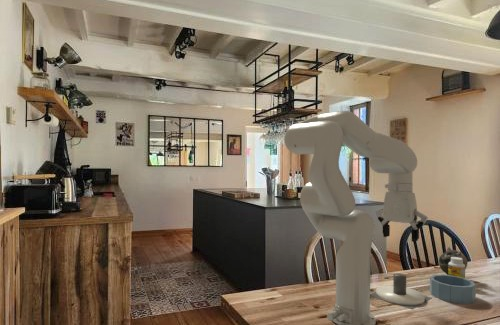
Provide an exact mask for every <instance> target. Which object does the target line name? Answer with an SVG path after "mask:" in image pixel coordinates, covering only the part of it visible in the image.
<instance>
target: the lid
mask: <svg viewBox="0 0 500 325" xmlns="http://www.w3.org/2000/svg"><path fill="white" fill-rule="evenodd" d="M392 275H393V277H392V278H393V280H392V281H393V285H382V286H381V285H380V286H378V287H376V289H375V292H376V295H377V296H378V297H379V298H381V299H383V300H382V301H384V300H385V302H387V301H388V302H387V303H390V302H391V304H393V303H395V304H394V305H396V304H400V305H420V304H421V305H423V304H425V303H426V302H425V296H426V295H424V293H422V292H421V291H419V290H416V289H413V288H411V287H407V275H406V274H403V273H393V274H392ZM381 299H380V300H381ZM424 302H425V303H424ZM400 305H399V306H400ZM421 305H420V306H421Z"/></svg>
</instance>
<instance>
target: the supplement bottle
mask: <svg viewBox="0 0 500 325" xmlns="http://www.w3.org/2000/svg"><path fill="white" fill-rule="evenodd" d="M448 275H451V276H457V277H461V278H465V279H466V269H465V265H464V264H463V259H462V258H459V257H451V262H449V263H448Z"/></svg>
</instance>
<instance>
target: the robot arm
mask: <svg viewBox="0 0 500 325" xmlns="http://www.w3.org/2000/svg"><path fill="white" fill-rule="evenodd" d="M284 145H285V147H286V149H287V150H288V151H289V152H290V153H293V154H295V155H313V156H312V159H311V162H310V165H309V167H308V171H307V177H308V180H309V182H307V183H305V185H304V186H303V187H302V188H301V191H300V194H299V200H300V205H301V208H302V210H303V212H304V213H305V215H306V217H307V218H308V219H309V221H310V223H311V224H312V226H313V227H314V228H315V231H317V233H318V234H320V236H322V237H324V238H327V239H332V240H336V241H341V242H343V243H342V245H341V247H339V248H338V251H337V253H336V257H335V304H334V308H333V309H332V310H331V311H330V312H329V313H327V314H326V318H327V320H328V321H332V322H333V323H335V324H336V325H376V323H377V318H376V317H375V315H374V314H373V313H371V296H370V294H371V258H372V257H371V252H372V243H373V239H374V234H375V220H374V218H373V217H372V215H371V214H369V213H368V212H366V211H365V210H364V211H362V210H360V209H355V208H356V199H355V196H354V193H353V192H352V190H351V188H350V186H349V185H348V182H347V181H346V179H345V178H344V175H343V174H342V170H341V169H340V164H339V162H340V155H341V151H342V147H343V145H344V146H345V147H347V148H348V149H349V150H350V151H352V152H353V153H354V154H356V155H358V156H360V157H364V158H368V159H369V162H368V163H369V164H368V165H369V168H370V169H371V170H372V171H374V172H375V173H378V174H387V175H388V182H387V184H384V189H387V190H388V191H386V192H385V195H384V199H383V208H381V209H379V210H376V211H375V215H376V217H377V220H378V221H379V222H380V224H381V226H382V234H383V238H387V237H390V232H391V231H390V230H391V226H390V224H389V223H390V222H395V223H401V224H409V225H410V226H411V227H412V229H411V242H412V243H415V242H418V241H419V239H420V229H421V228H422V227H423V226H424V225H425V223H427V220H428V219H429V218H428V216H427V215H426V214H424V213H422V212H420V211H419V210H418V205H417V199H416V194H415V192H414V191H413V172H414V171H415V170H416V168H417V166H418V158H417V155H416V153H415V152H414V150H413V149H412V148H411V147H410V146H409V145H408V144H407V143H405V142H404V141H403V140H400V139H398V138H395V137H391V136H389V135H386V134H383V133H380V132H376V131H374V130H373V129H372V127H370V126H369V125H368V124H366V123H365V121H363V120H362V119H361V118H360V117H359V116H358V115H357V114H356V113H354V112H352V111H349V110H338V111H333V112H326V113H320V114H317V115H315V116H312V117H309V118H308V119H305V120H302V121H300V122H296V123H294V124H292V125H291V126H289V127H288V129H287V130H286V131H285V133H284ZM418 218H419V219H420V220H419V222H418Z"/></svg>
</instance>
